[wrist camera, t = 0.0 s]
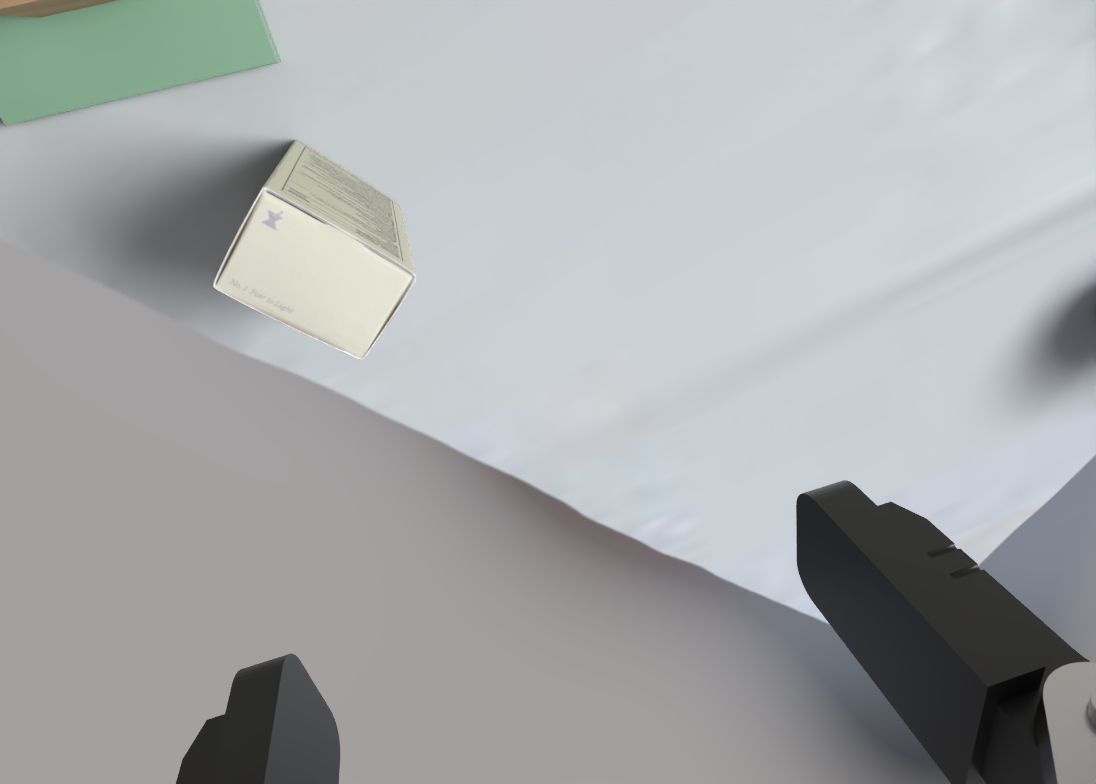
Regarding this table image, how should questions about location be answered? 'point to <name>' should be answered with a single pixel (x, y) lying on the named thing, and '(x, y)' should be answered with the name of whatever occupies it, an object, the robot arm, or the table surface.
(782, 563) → the table surface
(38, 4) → the walnut brick
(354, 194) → the skincare box
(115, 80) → the plate
